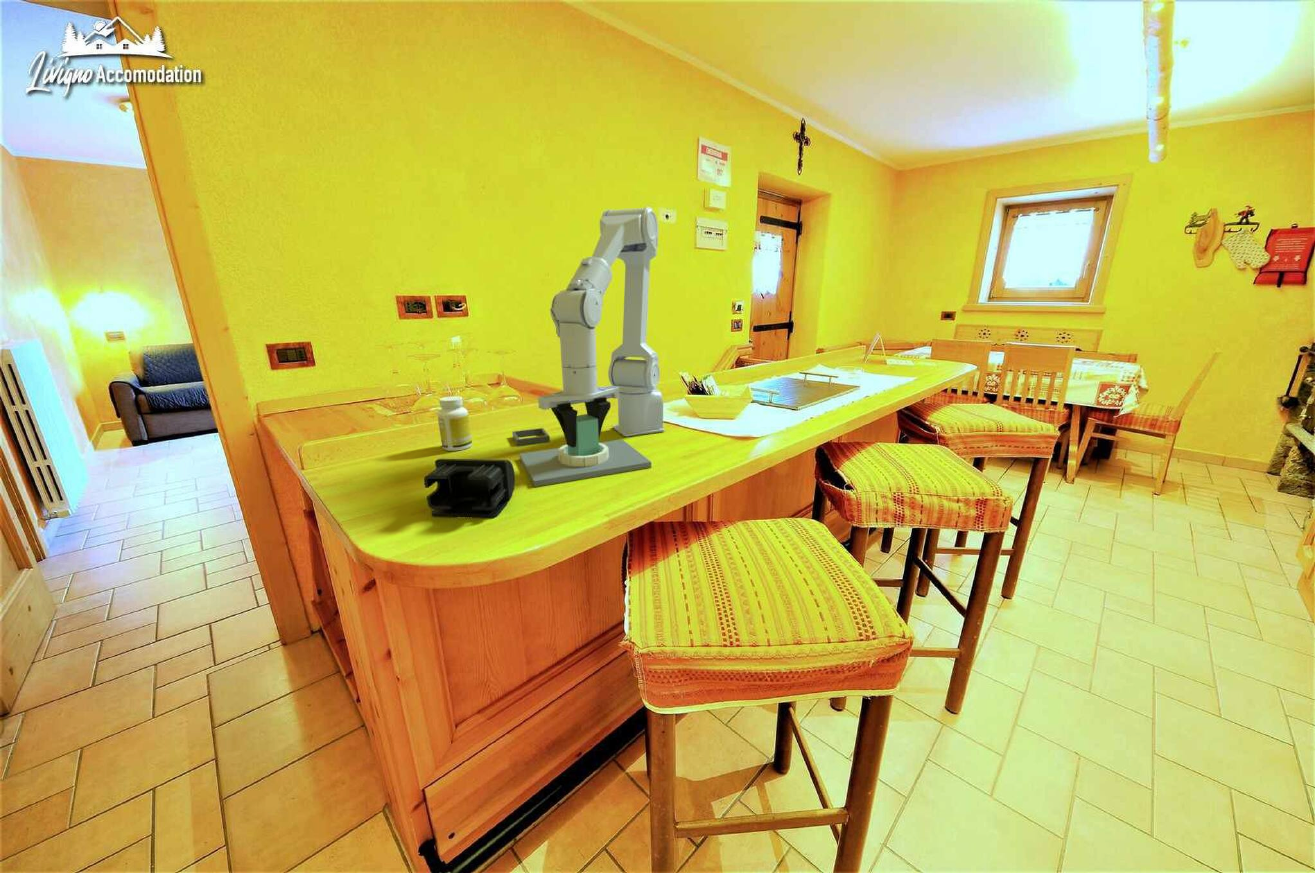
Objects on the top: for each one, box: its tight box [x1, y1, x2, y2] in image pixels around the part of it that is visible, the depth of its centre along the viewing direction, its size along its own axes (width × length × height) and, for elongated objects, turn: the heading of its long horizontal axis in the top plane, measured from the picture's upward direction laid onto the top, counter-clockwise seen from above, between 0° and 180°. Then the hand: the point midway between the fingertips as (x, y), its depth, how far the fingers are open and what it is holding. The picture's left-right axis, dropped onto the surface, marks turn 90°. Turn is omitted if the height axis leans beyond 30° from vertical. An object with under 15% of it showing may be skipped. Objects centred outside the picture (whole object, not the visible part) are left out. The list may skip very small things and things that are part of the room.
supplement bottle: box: [437, 395, 473, 452], centre depth 88 cm, size 5×5×10 cm
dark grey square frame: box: [511, 427, 551, 447], centre depth 94 cm, size 6×6×1 cm
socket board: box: [519, 439, 652, 488], centre depth 80 cm, size 20×14×3 cm
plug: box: [568, 413, 600, 456], centre depth 79 cm, size 4×4×7 cm
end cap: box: [423, 458, 516, 519], centre depth 63 cm, size 10×7×7 cm
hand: (583, 443), depth 80 cm, fingers closed on plug, 4 cm apart
